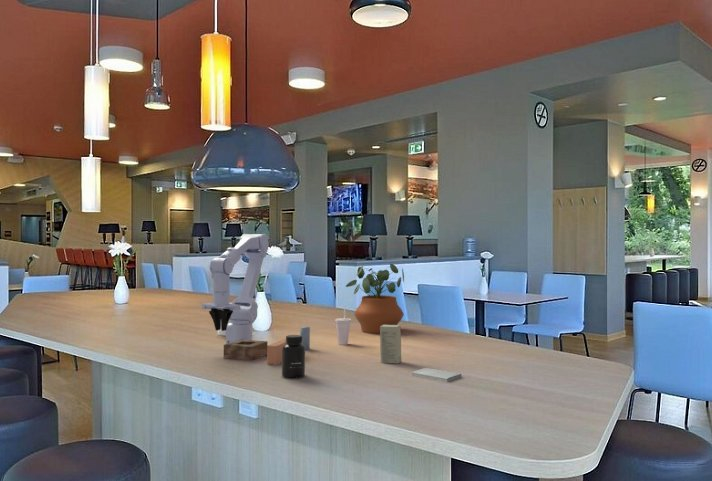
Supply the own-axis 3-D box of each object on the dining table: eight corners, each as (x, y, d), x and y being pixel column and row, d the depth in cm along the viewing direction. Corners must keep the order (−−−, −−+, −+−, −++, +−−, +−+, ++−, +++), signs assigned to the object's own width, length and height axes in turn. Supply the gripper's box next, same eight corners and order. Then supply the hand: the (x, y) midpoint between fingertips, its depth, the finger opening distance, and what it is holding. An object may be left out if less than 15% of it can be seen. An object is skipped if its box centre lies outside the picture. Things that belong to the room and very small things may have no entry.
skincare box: (401, 361, 190) (401, 325, 190) (398, 364, 186) (398, 326, 186) (383, 360, 192) (383, 323, 192) (379, 362, 188) (379, 325, 188)
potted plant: (385, 336, 238) (385, 265, 238) (333, 330, 255) (333, 263, 255) (413, 330, 257) (413, 263, 257) (362, 324, 274) (363, 262, 274)
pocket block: (223, 357, 194) (223, 344, 194) (240, 351, 205) (240, 339, 205) (252, 360, 191) (252, 346, 191) (267, 354, 201) (267, 341, 201)
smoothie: (349, 345, 218) (349, 309, 218) (333, 345, 219) (333, 308, 219) (352, 343, 224) (353, 307, 224) (336, 342, 225) (337, 307, 225)
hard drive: (461, 373, 169) (426, 367, 177) (447, 378, 163) (411, 371, 171) (461, 379, 169) (426, 372, 177) (446, 384, 163) (411, 376, 171)
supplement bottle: (295, 380, 164) (295, 338, 164) (277, 377, 168) (277, 336, 168) (309, 375, 170) (309, 335, 170) (291, 372, 174) (291, 333, 174)
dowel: (298, 349, 210) (298, 327, 210) (302, 347, 213) (302, 326, 213) (307, 350, 209) (307, 328, 209) (311, 348, 212) (311, 326, 212)
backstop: (267, 364, 185) (267, 345, 185) (290, 353, 202) (291, 336, 202) (275, 364, 184) (275, 346, 184) (298, 354, 201) (298, 337, 201)
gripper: (197, 292, 200) (196, 330, 200) (233, 293, 195) (233, 333, 195) (208, 290, 206) (208, 327, 206) (243, 291, 202) (243, 330, 202)
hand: (221, 330), depth 201 cm, fingers closed
